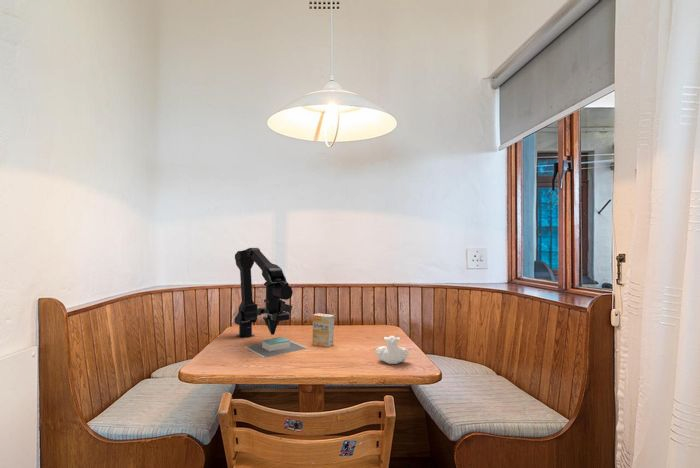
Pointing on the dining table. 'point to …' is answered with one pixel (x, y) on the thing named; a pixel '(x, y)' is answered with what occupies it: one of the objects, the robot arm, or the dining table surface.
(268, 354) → the mat
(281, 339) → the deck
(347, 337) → the dining table surface
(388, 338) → the white animal figurine
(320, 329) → the supplement box
